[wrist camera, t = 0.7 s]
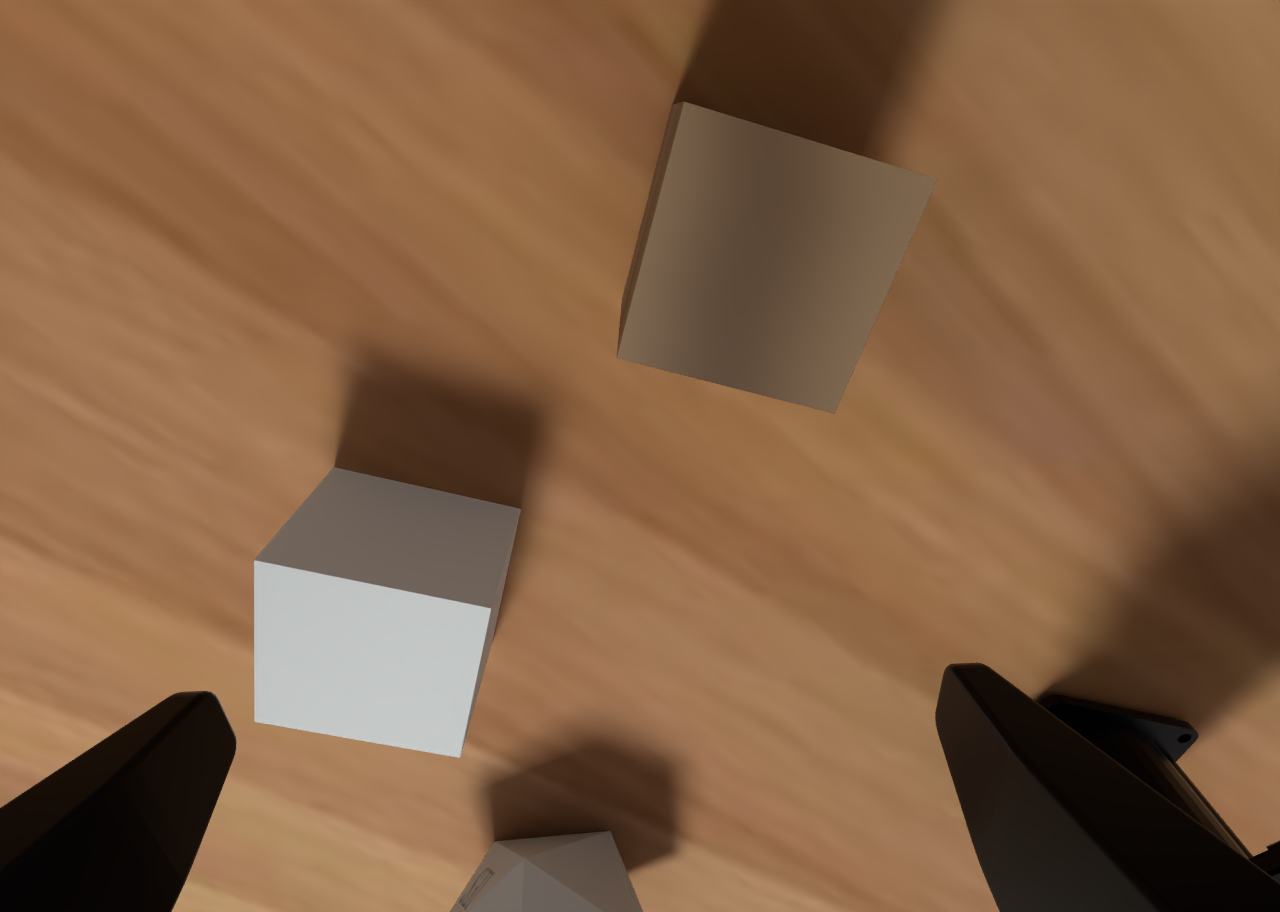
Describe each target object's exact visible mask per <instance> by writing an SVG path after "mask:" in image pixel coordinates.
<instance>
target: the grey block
mask: <svg viewBox="0 0 1280 912" xmlns="http://www.w3.org/2000/svg"><path fill="white" fill-rule="evenodd" d="M520 512H521V509H520V508H515V507H511V506H506V505H502V504H497V503H493V502H488V501H484V500H479V499H475V498H470V497H466V496H461V495H457V494H452V493H448V492H443V491H439V490H434V489H430V488H425V487H421V486H416V485H412V484H407V483H403V482H398V481H394V480H390V479H385V478H381V477H376V476H372V475H367V474H363V473H358V472H354V471H349V470H345V469H340V468H336V467H334V468H333V469H332V470H331V471H330V472H329V474H328V475H327V476H326V477H325V478H324V479H323V481H322V482H321V483H320V484H319V485H318V486H317V488H316V489H315V490H314V491H313V492H312V493H311V494H310V496H309V497H308V498H307V499H306V500H305V501H304V503H303V504H302V505H301V506H300V507H299V508H298V510H297V511H296V512H295V513H294V514H293V515H292V517H291V518H290V519H289V520H288V521H287V522H286V524H285V525H284V526H283V527H282V528H281V529H280V531H279V532H278V533H277V534H276V535H275V536H274V538H273V539H272V540H271V541H270V542H269V543H268V545H267V546H266V547H265V548H264V549H263V550H262V552H261V553H260V554H259V555H258V556H257V557H256V559H255V560H254V660H255V722H259V723H265V724H271V725H276V726H282V727H288V728H293V729H299V730H305V731H311V732H316V733H322V734H328V735H333V736H339V737H345V738H350V739H356V740H362V741H367V742H373V743H379V744H384V745H390V746H396V747H402V748H407V749H413V750H419V751H424V752H430V753H436V754H441V755H447V756H453V757H458V758H460V756H461V752H462V749H463V745H464V742H465V738H466V735H467V731H468V727H469V724H470V720H471V717H472V713H473V709H474V706H475V702H476V699H477V695H478V692H479V688H480V684H481V681H482V677H483V674H484V670H485V666H486V663H487V659H488V656H489V652H490V649H491V645H492V641H493V636H494V632H495V627H496V622H497V618H498V613H499V609H500V604H501V599H502V595H503V590H504V586H505V581H506V576H507V572H508V567H509V563H510V558H511V553H512V549H513V544H514V540H515V535H516V530H517V526H518V521H519V516H520Z"/></svg>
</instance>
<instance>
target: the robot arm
mask: <svg viewBox="0 0 1280 912" xmlns="http://www.w3.org/2000/svg"><path fill="white" fill-rule="evenodd" d="M935 719H936V727H937V731H938V735H939V738H940V741H941V744H942V748H943V751H944V754H945V757H946V760H947V764H948V767H949V770H950V773H951V776H952V779H953V783H954V786H955V789H956V792H957V795H958V798H959V802H960V805H961V808H962V811H963V814H964V818H965V821H966V824H967V827H968V830H969V833H970V837H971V840H972V843H973V846H974V849H975V852H976V854H977V857H978V860H979V863H980V866H981V868H982V871H983V873H984V876H985V878H986V881H987V883H988V885H989V888H990V890H991V892H992V895H993V897H994V899H995V902H996V904H997V906H998V909H999V911H1000V912H1280V841H1278V842H1275V843H1273V844H1271V845H1269V846H1267V849H1268V850H1267V851H1265V852H1263V853H1261V854H1258V855H1256V856H1254V857H1253V856H1252V854H1251V853H1250V852H1249V851H1248V850H1247V848H1246V847H1245V846H1244V845H1243V843H1242V842H1241V841H1240V840H1239V839H1238V837H1237V836H1236V835H1235V834H1234V833H1233V831H1232V830H1231V829H1230V828H1229V826H1228V825H1227V824H1226V823H1225V822H1224V820H1223V819H1222V818H1221V817H1220V815H1219V814H1218V813H1217V812H1216V811H1215V809H1214V808H1213V807H1212V806H1211V805H1210V803H1209V802H1208V801H1207V800H1206V798H1205V797H1204V796H1203V795H1202V794H1201V792H1200V791H1199V790H1198V789H1197V788H1196V786H1195V785H1194V784H1193V783H1192V781H1191V780H1190V779H1189V778H1188V777H1187V775H1186V774H1185V773H1184V772H1183V770H1182V769H1181V768H1180V767H1179V766H1178V764H1177V763H1176V761H1177V760H1178V759H1179V758H1180V757H1181V756H1182V755H1183V754H1184V753H1185V752H1186V750H1187V749H1188V748H1189V747H1190V746H1191V745H1192V744H1193V743H1194V742H1195V741H1196V740H1197V738H1198V733H1197V732H1196V731H1195V729H1194V728H1193V727H1192V726H1191V725H1190V724H1189V723H1188V722H1185V721H1181V720H1176V719H1171V718H1167V717H1162V716H1157V715H1152V714H1148V713H1143V712H1138V711H1133V710H1129V709H1124V708H1119V707H1114V706H1110V705H1105V704H1100V703H1095V702H1091V701H1086V700H1081V699H1076V698H1071V697H1067V696H1062V695H1051V696H1048V697H1046V698H1044V699H1043V700H1042V701H1041V702H1040V703H1039V704H1038V703H1037V702H1036V701H1034V700H1033V699H1031V698H1030V697H1029V696H1027V695H1026V694H1025V693H1023V692H1022V691H1021V690H1019V689H1018V688H1017V687H1015V686H1014V685H1013V684H1011V683H1010V682H1009V681H1007V680H1006V679H1005V678H1003V677H1002V676H1000V675H999V674H998V673H996V672H995V671H994V670H992V669H991V668H990V667H988V666H986V665H984V664H981V663H960V664H950V665H948V666H947V667H946V669H945V671H944V674H943V678H942V683H941V688H940V693H939V697H938V702H937V707H936V713H935ZM235 751H236V736H235V733H234V731H233V729H232V727H231V725H230V723H229V720H228V718H227V716H226V714H225V712H224V710H223V708H222V706H221V704H220V702H219V700H218V698H217V696H216V695H214V694H213V693H212V692H208V691H194V692H180V693H176V694H173V695H171V696H170V697H168V698H166V699H165V700H163V701H162V702H160V703H159V704H157V705H156V706H154V707H153V708H151V709H150V710H148V711H147V712H145V713H144V714H142V715H141V716H139V717H138V718H136V719H135V720H133V721H131V722H130V723H128V724H127V725H125V726H124V727H122V728H121V729H119V730H118V731H116V732H115V733H113V734H112V735H110V736H109V737H107V738H106V739H104V740H103V741H101V742H100V743H98V744H97V745H95V746H94V747H92V748H91V749H89V750H88V751H86V752H84V753H83V754H81V755H80V756H78V757H77V758H75V759H74V760H72V761H71V762H69V763H68V764H66V765H65V766H63V767H62V768H60V769H59V770H57V771H56V772H54V773H53V774H51V775H50V776H48V777H47V778H45V779H44V780H42V781H40V782H39V783H37V784H36V785H34V786H33V787H31V788H30V789H28V790H27V791H25V792H24V793H22V794H21V795H19V796H18V797H16V798H15V799H13V800H12V801H10V802H9V803H7V804H6V805H4V806H3V807H1V808H0V912H171V911H172V909H173V907H174V905H175V903H176V901H177V899H178V897H179V894H180V892H181V890H182V888H183V886H184V884H185V881H186V879H187V876H188V874H189V872H190V869H191V867H192V865H193V862H194V860H195V857H196V854H197V852H198V849H199V847H200V844H201V841H202V839H203V836H204V834H205V831H206V829H207V826H208V823H209V821H210V818H211V816H212V813H213V810H214V808H215V805H216V803H217V800H218V797H219V795H220V792H221V790H222V787H223V785H224V782H225V779H226V777H227V774H228V772H229V769H230V766H231V764H232V761H233V759H234V755H235Z"/></svg>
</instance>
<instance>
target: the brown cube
mask: <svg viewBox="0 0 1280 912" xmlns="http://www.w3.org/2000/svg"><path fill="white" fill-rule="evenodd" d="M937 180H938V179H936V178H932V177H929V176H926V175H922V174H919V173H916V172H913V171H909V170H906V169H903V168H900V167H896V166H893V165H890V164H887V163H883V162H880V161H877V160H874V159H870V158H867V157H864V156H860V155H857V154H854V153H851V152H847V151H844V150H841V149H838V148H834V147H831V146H828V145H825V144H821V143H818V142H815V141H812V140H808V139H805V138H802V137H798V136H795V135H792V134H789V133H785V132H782V131H779V130H776V129H772V128H769V127H766V126H763V125H759V124H756V123H753V122H750V121H746V120H743V119H740V118H736V117H733V116H730V115H727V114H723V113H720V112H717V111H714V110H710V109H707V108H704V107H701V106H697V105H694V104H691V103H687V102H680V103H676V104H672V107H671V111H670V115H669V119H668V123H667V126H666V130H665V134H664V138H663V142H662V146H661V150H660V154H659V158H658V162H657V165H656V169H655V173H654V177H653V181H652V185H651V189H650V193H649V197H648V201H647V204H646V208H645V212H644V216H643V220H642V224H641V228H640V232H639V236H638V240H637V243H636V247H635V251H634V255H633V259H632V263H631V267H630V271H629V275H628V279H627V282H626V286H625V290H624V294H623V298H622V305H621V316H620V327H619V338H618V349H617V358H618V359H622V360H626V361H630V362H634V363H638V364H642V365H646V366H650V367H654V368H657V369H661V370H665V371H669V372H673V373H677V374H681V375H685V376H689V377H693V378H697V379H701V380H705V381H708V382H712V383H716V384H720V385H724V386H728V387H732V388H736V389H740V390H744V391H748V392H752V393H756V394H760V395H763V396H767V397H771V398H775V399H779V400H783V401H787V402H791V403H795V404H799V405H803V406H807V407H811V408H814V409H818V410H822V411H826V412H830V413H834V414H835V412H836V410H837V407H838V405H839V403H840V400H841V398H842V396H843V394H844V391H845V389H846V387H847V384H848V382H849V380H850V378H851V375H852V373H853V371H854V369H855V366H856V364H857V362H858V359H859V357H860V355H861V353H862V350H863V348H864V346H865V344H866V341H867V339H868V337H869V334H870V332H871V330H872V328H873V325H874V323H875V321H876V318H877V316H878V314H879V312H880V309H881V307H882V305H883V303H884V300H885V298H886V296H887V293H888V291H889V289H890V287H891V284H892V282H893V280H894V278H895V275H896V273H897V271H898V268H899V266H900V264H901V262H902V259H903V257H904V255H905V252H906V250H907V248H908V246H909V243H910V241H911V239H912V237H913V234H914V232H915V230H916V227H917V225H918V223H919V221H920V218H921V216H922V214H923V212H924V209H925V207H926V205H927V202H928V200H929V198H930V196H931V193H932V191H933V189H934V186H935V184H936V182H937Z"/></svg>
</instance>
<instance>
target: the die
mask: <svg viewBox="0 0 1280 912" xmlns="http://www.w3.org/2000/svg"><path fill="white" fill-rule="evenodd" d="M450 912H643V910H642V908H641V905H640V903H639V900H638V898H637V895H636V893H635V890H634V888H633V886H632V883H631V881H630V878H629V876H628V873H627V871H626V868H625V866H624V863H623V861H622V859H621V856H620V854H619V851H618V849H617V846H616V844H615V841H614V839H613V836H612V834H611V831H603V832H592V833H581V834H570V835H559V836H548V837H537V838H526V839H515V840H504V841H494V843H493V845H492V846H491V848H490V849H489V851H488V852H487V854H486V856H485V857H484V859H483V860H482V862H481V863H480V865H479V867H478V868H477V870H476V871H475V873H474V874H473V876H472V878H471V879H470V881H469V882H468V884H467V885H466V887H465V889H464V890H463V892H462V893H461V895H460V896H459V898H458V900H457V901H456V903H455V904H454V906H453V907H452V909H451V911H450Z"/></svg>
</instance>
